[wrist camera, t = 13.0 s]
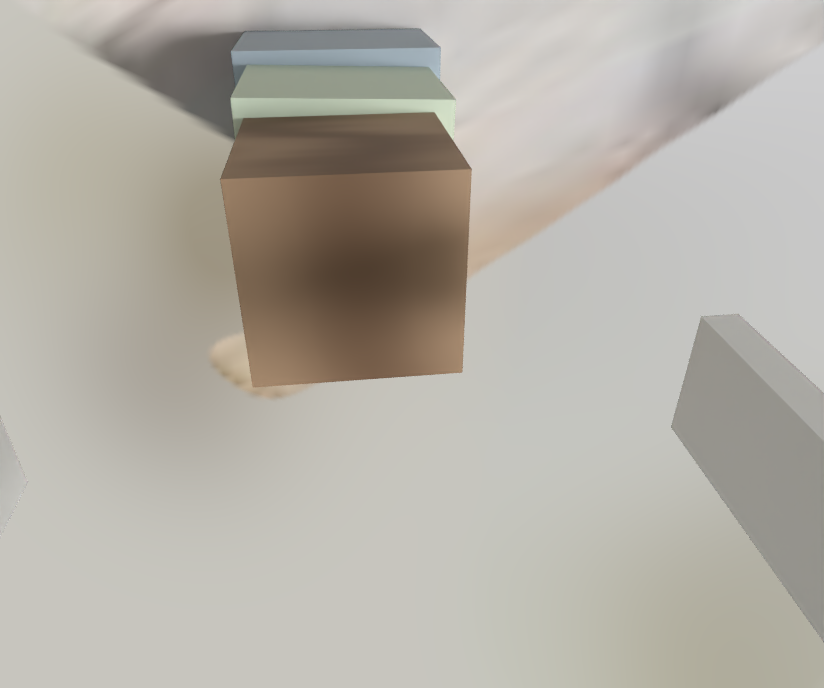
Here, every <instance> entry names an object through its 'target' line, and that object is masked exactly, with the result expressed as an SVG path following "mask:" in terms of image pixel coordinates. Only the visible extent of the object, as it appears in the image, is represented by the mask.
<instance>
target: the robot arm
mask: <svg viewBox="0 0 824 688" xmlns="http://www.w3.org/2000/svg"><path fill="white" fill-rule="evenodd" d="M671 428H672V429H673V431H674V432H675V433H676V435H677V436H678V438H679V439H680V440H681V442H682V443H683V445H684V446H685V448H686V449H687V450H688V452H689V453H690V455H691V456H692V457H693V459H694V460H695V461H696V463H697V464H698V466H699V467H700V469H701V470H702V471H703V473H704V474H705V476H706V477H707V478H708V480H709V481H710V483H711V484H712V486H713V487H714V488H715V490H716V491H717V492H718V494H719V495H720V497H721V498H722V500H723V501H724V502H725V504H726V505H727V507H728V508H729V509H730V511H731V512H732V514H733V515H734V517H735V518H736V519H737V521H738V522H739V523H740V525H741V526H742V528H743V529H744V531H745V532H746V534H747V535H748V536H749V538H750V539H751V540H752V542H753V543H754V545H755V546H756V548H757V549H758V550H759V552H760V553H761V555H762V556H763V557H764V559H765V560H766V562H767V563H768V564H769V566H770V567H771V568H772V570H773V571H774V573H775V574H776V576H777V577H778V579H779V580H780V581H781V583H782V584H783V586H784V587H785V588H786V590H787V591H788V593H789V594H790V595H791V596H792V598H793V600H794V601H795V603H796V604H797V605H798V607H799V608H800V610H801V611H802V612H803V614H804V615H805V616H806V618H807V619H808V621H809V622H810V624H811V625H812V626H813V628H814V629H815V630H816V632H817V634H818V635H819V636H820V638H821V639H822V640H823V642H824V393H823V392H822V391H821V390H820V389H819V388H818V387H816V385H815V384H814V383H812V382H811V381H810V380H809V379H808V378H807V377H806V376H805V375H804V374H803V373H802V372H800V370H798V369H797V368H796V367H795V366H794V365H793V364H792V363H791V362H790V361H789V360H788V359H786V358H785V357H784V356H783V355H782V354H781V353H780V352H779V351H778V350H777V349H776V348H774V346H772V345H771V344H770V343H769V342H768V341H767V340H766V339H765V338H764V337H763V336H762V335H761V334H760V333H758V332H757V331H756V330H755V329H754V328H753V327H752V326H751V325H750V324H749V323H748V322H747V321H745V320H744V319H743V318H742V317H741V316H740V315H739V314H731V315H715V316H702V317H701V319H700V323H699V327H698V330H697V334H696V338H695V341H694V345H693V349H692V352H691V356H690V359H689V363H688V367H687V371H686V374H685V378H684V381H683V385H682V389H681V392H680V396H679V400H678V403H677V407H676V411H675V414H674V418H673V422H672V425H671ZM27 483H28V481H27V479H26V477H25V474H24V472H23V469H22V467H21V464H20V462H19V460H18V457H17V455H16V452H15V450H14V448H13V445H12V443H11V441H10V438H9V436H8V433H7V431H6V429H5V427H4V424H3V421H2V419H1V417H0V537H1V535H2V533H3V531H4V529H5V527H6V525H7V523H8V521H9V519H10V517H11V515H12V513H13V511H14V509H15V507H16V505H17V503H18V501H19V499H20V497H21V495H22V493H23V491H24V489H25V487H26V485H27Z"/></svg>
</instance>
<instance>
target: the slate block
mask: <svg viewBox="0 0 824 688" xmlns="http://www.w3.org/2000/svg"><path fill="white" fill-rule="evenodd" d="M440 55H441V47H440V46H438V45H437V44H436V43H435V42H434V41H433V40H432V39H431V38H430V37H429V36H428V35H427V34H425V33H424V32H423V31H422V30H421V29H369V30H304V31H244V33H243V34H242V36H241V37H240V39H239V40H238V42H237V43H236V44H235V46H234V47H233V49H232V50H231V58H232V65H233V73H234V80H235V88H236V86H237V84H238V82H239V80H240V78H241V76H242V74H243V72H244V70H245V68H246V66H247V65H315V66H388V67H429V68H430V69H431V70H432V72H433V73H434V74H435V75H436V76H437V77H438V79H439V80H440Z"/></svg>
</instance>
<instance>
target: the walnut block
mask: <svg viewBox="0 0 824 688" xmlns="http://www.w3.org/2000/svg"><path fill="white" fill-rule="evenodd" d="M471 171H472V169H471V167H470V166H469V164H468V163H467V161H466V160H465V158H464V157H463V155H462V154H461V152H460V151H459V149H458V148H457V146H456V144H455V143H454V141H453V140H452V138H451V137H450V135H449V134H448V132H447V131H446V129H445V128H444V126H443V124H442V123H441V121H440V120H439V118H438V117H437V115H436V114H435V112H425V113H393V114H360V115H328V116H295V117H263V118H243V120H242V123H241V126H240V128H239V131H238V134H237V136H236V139H235V142H234V144H233V147H232V150H231V152H230V155H229V158H228V160H227V163H226V166H225V168H224V171H223V174H222V176H221V179H220V180H221V186H222V193H223V200H224V206H225V212H226V219H227V225H228V231H229V238H230V244H231V251H232V257H233V264H234V270H235V276H236V282H237V289H238V295H239V302H240V307H241V315H242V321H243V327H244V334H245V340H246V347H247V353H248V359H249V366H250V372H251V379H252V385H253V387H266V386H280V385H294V384H308V383H322V382H336V381H349V380H363V379H378V378H392V377H405V376H420V375H433V374H446V373H461V372H462V368H463V367H462V366H463V345H464V324H465V302H466V280H467V259H468V237H469V215H470V193H471Z"/></svg>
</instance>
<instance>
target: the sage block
mask: <svg viewBox="0 0 824 688" xmlns="http://www.w3.org/2000/svg"><path fill="white" fill-rule="evenodd" d="M230 99H231V109H232V118H233V128H234V137H235V139H236V136H237V134H238V131H239V128H240V126H241V123H242V120H243V118H263V117H295V116H328V115H360V114H393V113H425V112H435V114H436V115H437V117H438V118H439V120H440V121H441V123H442V124H443V126H444V128H445V129H446V131H447V132H448V134H449V135H450V137H451V138H452V140H453V139H454V123H455V108H456V99H455V98H454V97H453V95H452V94H451V93H450V92H449V91H448V89H447V88H446V87H445V86H444V85H443V83H442V82H441V81H440V80H439V79H438V77H437V76H436V75H435V74H434V73H433V72H432V70H431V69H430V68H429V67H388V66H315V65H247V66H246V68H245V70H244V72H243V74H242V76H241V78H240V80H239V82H238V84H237V86H236V88H235V90H234V92H233V94H232V96H231V98H230Z"/></svg>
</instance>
